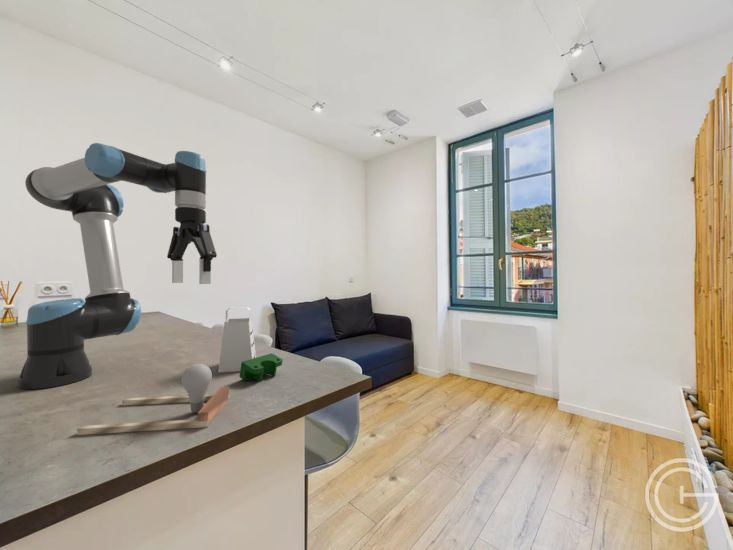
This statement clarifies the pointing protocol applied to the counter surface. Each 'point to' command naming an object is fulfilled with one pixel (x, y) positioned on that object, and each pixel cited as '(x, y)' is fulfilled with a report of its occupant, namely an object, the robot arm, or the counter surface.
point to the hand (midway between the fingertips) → (190, 283)
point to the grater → (236, 343)
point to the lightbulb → (196, 384)
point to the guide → (203, 420)
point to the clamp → (260, 367)
